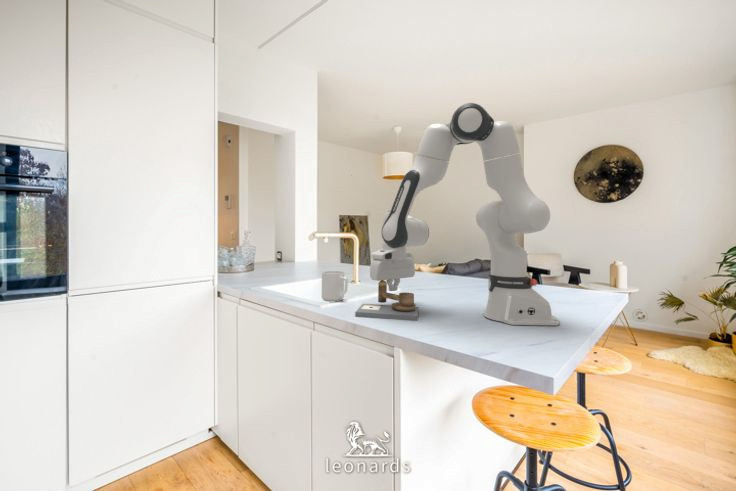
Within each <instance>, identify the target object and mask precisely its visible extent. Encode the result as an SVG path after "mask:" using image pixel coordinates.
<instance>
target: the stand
mask: <svg viewBox="0 0 736 491" xmlns="http://www.w3.org/2000/svg"><path fill="white" fill-rule="evenodd" d="M419 308H420V307H419V306H416V308H415V310H412V311H399V310H394V309H392V304H391V305H390V304H377V303H375V304H373V303H362V304H361V305H360V306H359V307H358V309H357V310H356V311H355V314H354V315H355V316H354V317H358V318H373V319H386V320H403V321H418V318H419Z"/></svg>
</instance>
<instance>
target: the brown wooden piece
mask: <svg viewBox="0 0 736 491" xmlns="http://www.w3.org/2000/svg"><path fill="white" fill-rule="evenodd" d="M377 295H378V296H377V299H378V300H377V302H378V303H383V304H384V303H387V299H389V300H393V301H397V302H393V303H391V305H392V309H394V310H399V311H412V310H415V308H416V307H417V306H416V304H415V303H414V302H415V294H414V293H413V292H400V293H399V294H396V293H391V292H388V284H387V282H386V280H380V281H378V293H377Z"/></svg>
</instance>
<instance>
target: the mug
mask: <svg viewBox="0 0 736 491" xmlns="http://www.w3.org/2000/svg"><path fill="white" fill-rule="evenodd" d="M348 285H349V278H348V277H346V276H345V272H344V271H341V270H324V271H322V272H321V299H322V300H323V301H324V302H331V303H334V302H340V301H342V300H343V299H344V298H345V295H346V293H347V292H348Z"/></svg>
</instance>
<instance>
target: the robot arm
mask: <svg viewBox="0 0 736 491" xmlns="http://www.w3.org/2000/svg"><path fill="white" fill-rule="evenodd" d="M474 142H475V143H477V144H478V145H479V147H480V150H481V154H482V160H483V167H484V172H485V180H486V184H487V185H488V187H489V188H490V189H492V190H494V191H495V192H496V193H497V194H498V196H499V197H500V199H501V200H494V201H490V202H487V203H485V204H483V205H481V206H479V207H478V209H477V211H476V215H475V220H476V223H477V227H479V229H481V230H482V231H483V234H484V235H485V237H486V239H487V242H488V245H489V250H490V273H489V275H488V282H487V284H488V286H487V288H488V291H489V292H488V296H487V297H488V298H487V303H486V307H485V310H484V313H483V316H484V317H485V318H487V319H489V320H492V321H497V322H502V323H504V324H507V325H511V326H512V325H513V326H559V325H560V319H559V318H558V317H556V316H555V315H553V313H552V307H551V305H550V303H549V301H548V300H547V299H546V298H545V297H543V296H542V295H541V294H540V293H539V292H537V291H536V290H535V289H533V286H534V287H536V286H537V285H538V283H539V282H538V281H537V279H535V278H530V277H529V276H528V274H527V271H528V269H527V268H528V253H527V250H526V249H525V248H524V247H523V246H521V245H520V244H519V243H518V240H517V237H516V234H524V235H525V234H532V233H537V232H541V231H543V230H545V229H546V228H547V227H548V224H549V223H550V220H551V211H550V208H549V205H547V203H546V201H544V200H542V199H541V198H539V197H538V196H537V195H536V194H535V193H534V192H533V191H532V189H531V187H530V186H529V184H528V183H527V180H526V178H525V175H524V169H523V164H522V157H521V151H520V146H519V141H518V138H517V135H516V131H515V129H514V127H513V124H511V123H510V122H509V121H505V120H497V121H495V120H494V118H493V117H492V116H491V115H490V113H488V111H487V110H486V109H485V108H484V107H483V106H481V105H480V104H478V103H475V102H474V103H473V102H468V103H464V104H462V105H460V106H459V107H458V108H457V109H456V110H455V111H454V113H453V115H452V117H451V120H450V121H449V122H447V123H437V122H436V123H432V124H430V125H428V126H427V127H426V128H425V131H424V133H423V134H422V137H421V139H420V142H419V146H418V148H417V153H416V154H415V159H414V162H413V164H412V166H411V168H410V169H409V171H408V172H406V173H405V175H404V177H403V178H402V181H401V182H400V185H399V188H398V190H397V193H396V196H395V198H394V201H393V204H392V206H391V209H390V210H388V211H386V212H385V214H384V217H383V223H382V227H381V238H382V240H383V241H382V243H381V244H382V248H380V249H378V250H376V251H374V252H371V255H370V256H371V259H372V260H371V262H370V266H369V267H370V268H369V277H370V279H371V280H372V281H375V282H376V281H378V282H380V281H381V280H384V281H386V283H387V287H388V291H389V292H395V291H398V286H399V284H400V283H401V279H407V278H414V276H415V275H416V268H415V260H414V256H413V254H412V253H410V252H409V253H407V247H408V248H410V247H418V246H422V245H425V243H427V241H428V239H429V237H430V229H429V225H428V223H427V222H426V221H424V220H421V219H419V218H416V217H413V216H411V215H410V213H411V209H412V207H413V205H414V204H413V203H414V201H415V199H416V197H417V196H418V194H419V193H421V191H423V190H425V189H428V188H430V187H433V186H435V185H437V184H438V183H440V182H441V181H442V180H443V179H444V177H445V176H446V173H447V170H448V167H449V164H450V163H449V162H450V159H451V156H452V154H453V153H452V152H453V150H454V148H455V147H456V146H459V145H469V144H473V143H474ZM558 324H559V325H558Z"/></svg>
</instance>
